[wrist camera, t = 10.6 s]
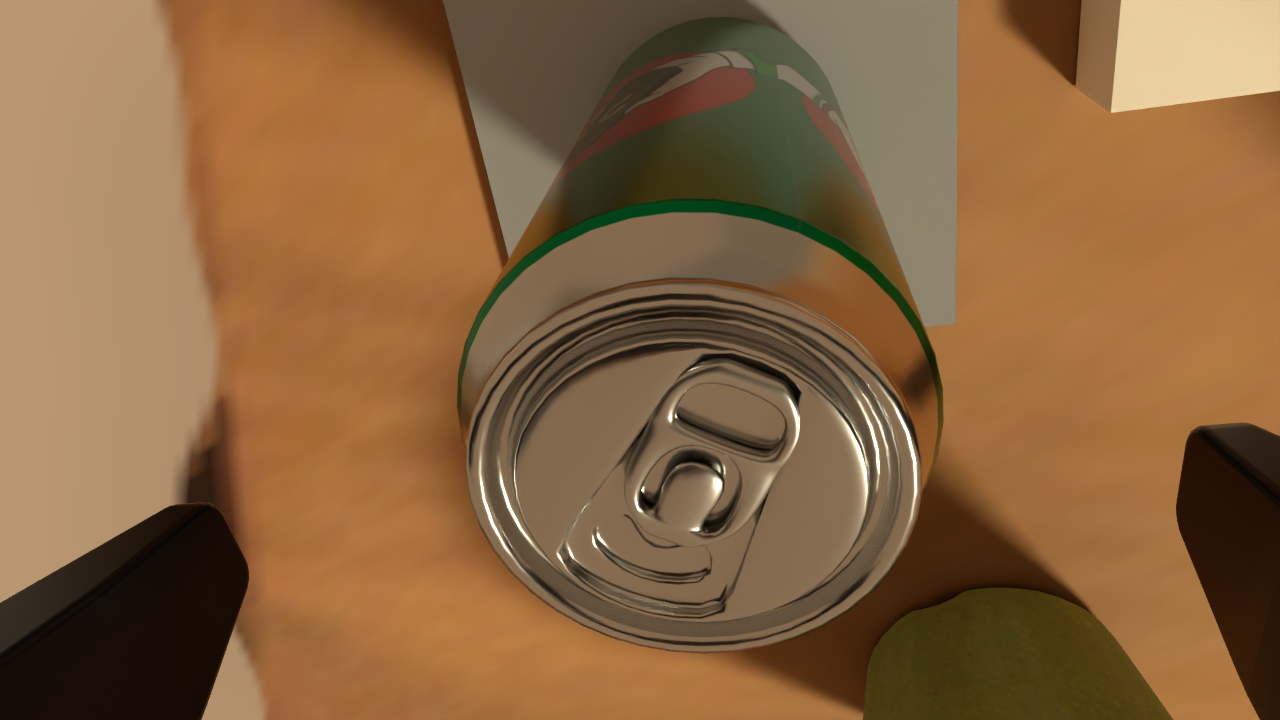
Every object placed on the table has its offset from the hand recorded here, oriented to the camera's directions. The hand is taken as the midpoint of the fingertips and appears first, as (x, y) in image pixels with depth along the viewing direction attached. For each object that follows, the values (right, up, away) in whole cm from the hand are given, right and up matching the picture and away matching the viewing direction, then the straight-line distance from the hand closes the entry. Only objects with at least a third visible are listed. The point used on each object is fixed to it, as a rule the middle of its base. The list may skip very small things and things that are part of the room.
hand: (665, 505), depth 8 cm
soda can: (+1, +6, +11) cm, 12 cm away
